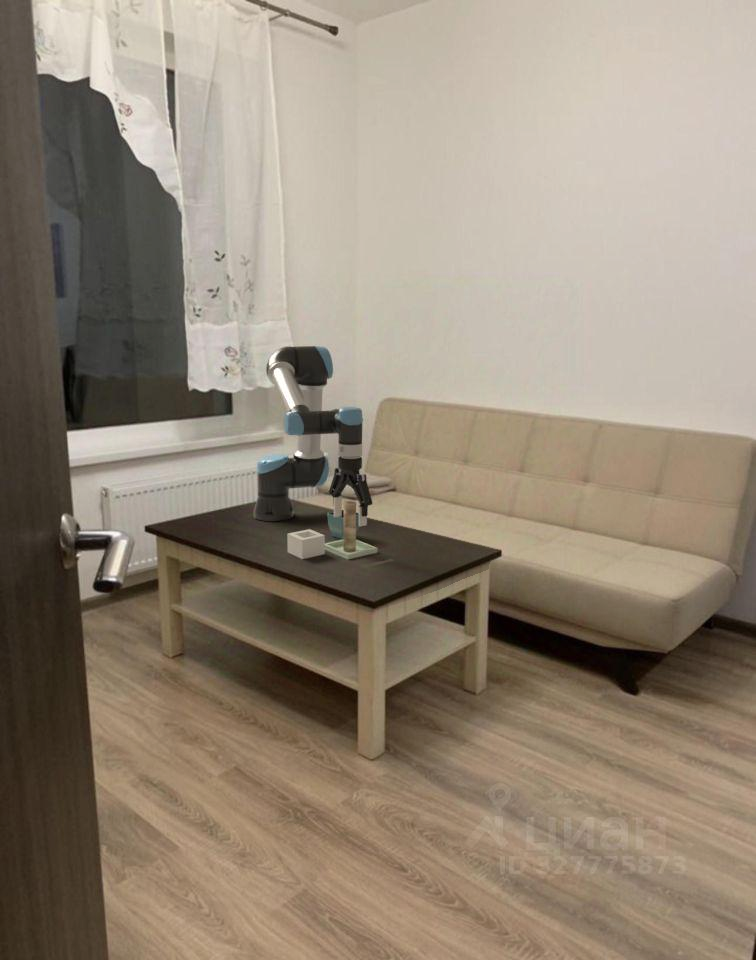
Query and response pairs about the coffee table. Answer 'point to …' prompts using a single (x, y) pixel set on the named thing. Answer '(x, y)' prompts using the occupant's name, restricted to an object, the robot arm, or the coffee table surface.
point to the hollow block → (306, 543)
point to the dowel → (349, 526)
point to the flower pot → (339, 524)
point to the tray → (361, 550)
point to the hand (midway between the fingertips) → (349, 521)
